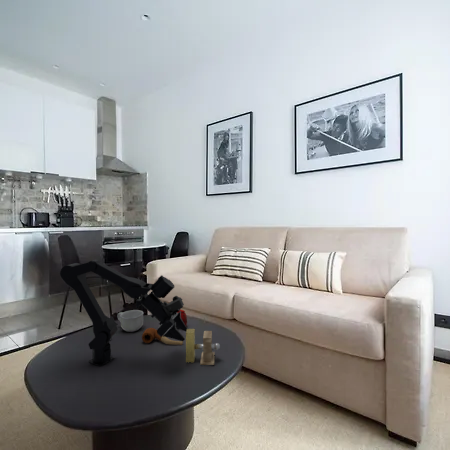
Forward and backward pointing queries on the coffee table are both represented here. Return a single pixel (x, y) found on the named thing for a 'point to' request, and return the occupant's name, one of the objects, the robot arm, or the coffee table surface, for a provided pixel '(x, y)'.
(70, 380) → the coffee table surface
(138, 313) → the teacup
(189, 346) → the olive block with rod
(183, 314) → the red clay folk toy
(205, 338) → the eye post
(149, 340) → the smoking pipe
